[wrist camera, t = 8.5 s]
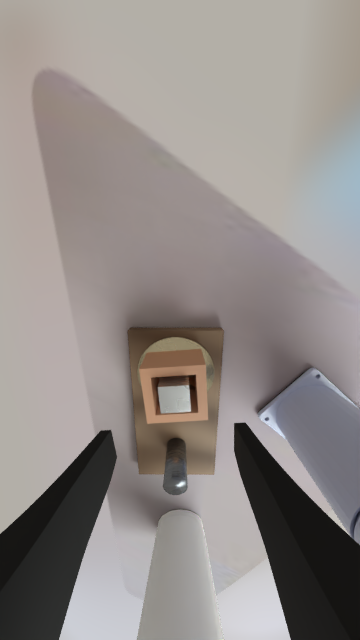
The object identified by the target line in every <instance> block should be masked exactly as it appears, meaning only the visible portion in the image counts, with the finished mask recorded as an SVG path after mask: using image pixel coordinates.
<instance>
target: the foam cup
mask: <svg viewBox="0 0 360 640" xmlns="http://www.w3.org/2000/svg"><path fill="white" fill-rule="evenodd" d="M137 640H224V637H223V632H222V626H221V621H220V615H219V610H218V604H217V599H216V593H215V588H214V582H213V577H212V571H211V566H210V560H209V555H208V549H207V544H206V538H205V533H204V528H203V523H202V520H201V519H200V517H199V516H198V515H197V514H195V513H193V512H191V511H188V510H182V509H179V510H173V511H169V512H167V513H166V514H164V515H162V517H161V518H160V520H159V522H158V528H157V532H156V537H155V543H154V548H153V554H152V559H151V565H150V570H149V576H148V581H147V587H146V592H145V598H144V603H143V609H142V614H141V620H140V626H139V631H138V636H137Z"/></svg>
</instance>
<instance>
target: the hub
mask: <svg viewBox="0 0 360 640" xmlns="http://www.w3.org/2000/svg"><path fill="white" fill-rule="evenodd" d="M191 349H201V350H202V353H203V357H204V360H205V363H206V379H207V392H208V390H209V389H210V387H211V385H212V383H213V380H214V365H213V361H212V359H211V357H210V355H209V353H208V352H207V351H206V350H205V349H204V348H203V347H202V346H201V345H200V344H198V343H197V342H195V341H193V340H190V339H188V338H184V337H168V338H164V339H161V340H158V341H156V342H155V343H153V344H152V345H150V346H149V347H148V348H147V349H146V350H145V352H144V353H143V354H142V356H141V358H140V361H139V364H138V370H137V373H138V380H139V383H140V385H141V379H140V372H139V368H140V366H141V364H142V362H143V359H144V357H145V355H146V353H147V352H162V351H176V350H191ZM158 381H159V383H158V394H159V402H160V410H161V413H178V412H191V404H190V390H195V378H194V375H182V376H167V377H158ZM141 387H142V386H141Z"/></svg>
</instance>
